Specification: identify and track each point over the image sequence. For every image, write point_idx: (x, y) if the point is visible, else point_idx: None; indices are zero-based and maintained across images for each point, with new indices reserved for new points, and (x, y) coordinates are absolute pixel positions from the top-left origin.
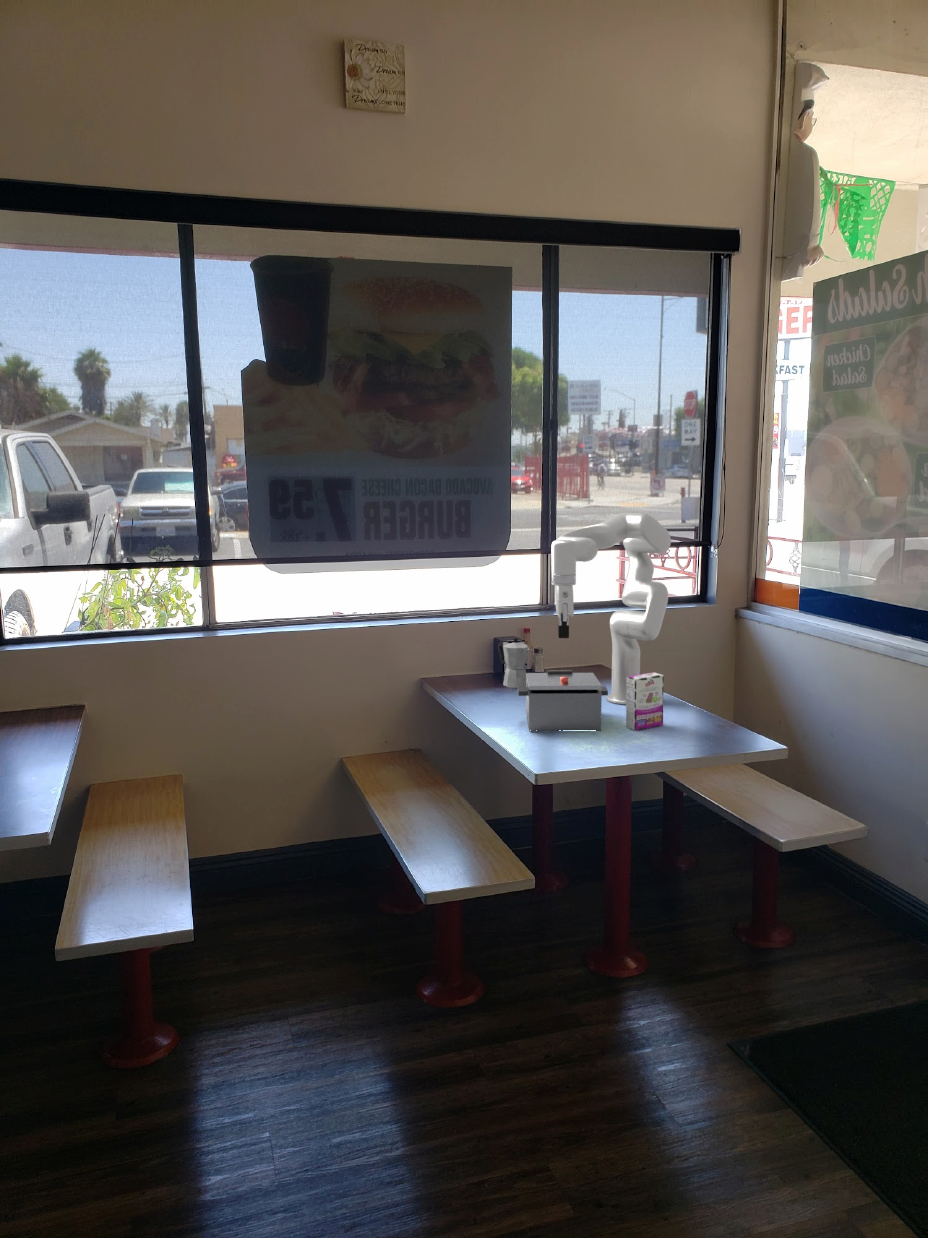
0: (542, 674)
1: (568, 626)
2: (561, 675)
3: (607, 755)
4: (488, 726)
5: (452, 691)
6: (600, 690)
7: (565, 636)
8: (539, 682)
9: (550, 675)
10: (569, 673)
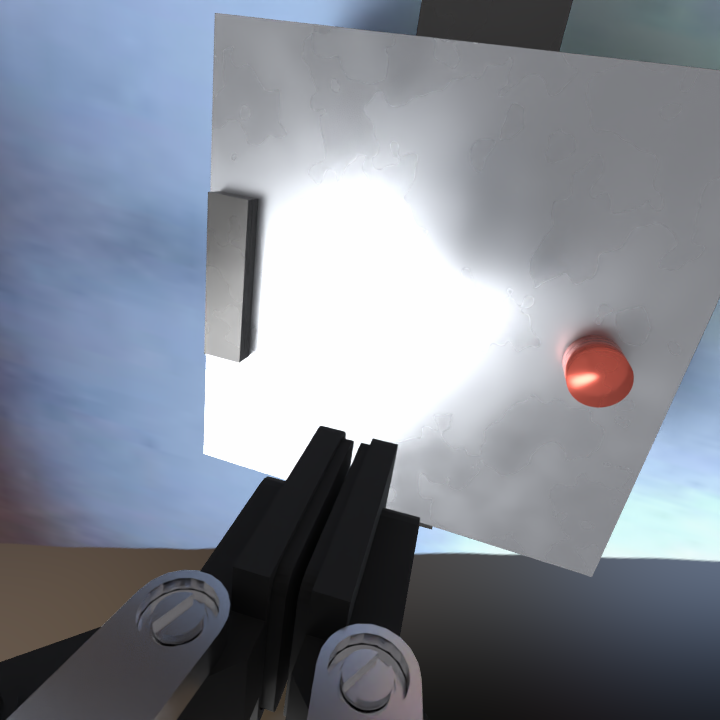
0: (249, 386)
1: (356, 593)
2: (293, 286)
3: None
4: (443, 535)
5: (30, 512)
6: (541, 44)
7: (386, 498)
8: (497, 488)
9: (285, 352)
10: (254, 220)
